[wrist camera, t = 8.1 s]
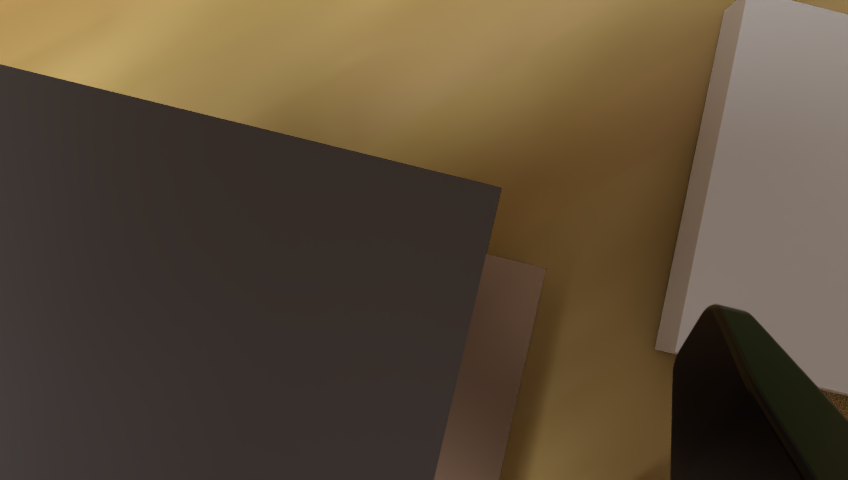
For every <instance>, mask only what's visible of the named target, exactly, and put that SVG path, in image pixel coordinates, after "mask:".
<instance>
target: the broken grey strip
mask: <svg viewBox="0 0 848 480" xmlns="http://www.w3.org/2000/svg"><path fill="white" fill-rule="evenodd" d="M713 304H719V305H723V306H728V307H732V308H736V309H740V310H744V311H746V312H748V313H750V314H751V315H752V316H753V317H754V318H755V319H756V320H757V321H758V322H759V323H760V324H761V325H762V326H763V328H764V329H765V330H766V331H767V332H768V333H769V334H770V335H771V336H772V337H773V338H774V340H775V341H776V342H777V343H778V344H779V345H780V346H781V347H782V348H783V349H784V350H785V352H786V353H787V354H788V355H789V356H790V357H791V358H792V359H793V360H794V361H795V362H796V364H797V365H798V366H799V367H800V368H801V369H802V370H803V371H804V372H805V373H806V374H807V376H808V377H809V378H810V379H811V380H812V381H813V382H814V383H815V384H816V385H817V387H818V388H819V389H820V390H824V391H828V392H832V393H836V394H841V395H845V396H848V14H844V13H840V12H836V11H832V10H828V9H824V8H820V7H816V6H812V5H809V4H805V3H801V2H797V1H793V0H736V1H735V2H734V3H733V4H732V5H730V6H729V7H728V8H727V9H726V10H725V11H724V14H723V19H722V24H721V29H720V33H719V38H718V43H717V48H716V53H715V58H714V63H713V68H712V72H711V77H710V82H709V87H708V92H707V97H706V102H705V107H704V111H703V116H702V121H701V126H700V131H699V136H698V141H697V145H696V150H695V155H694V160H693V165H692V170H691V175H690V180H689V184H688V189H687V194H686V199H685V204H684V209H683V214H682V219H681V223H680V228H679V233H678V238H677V243H676V248H675V253H674V258H673V262H672V267H671V272H670V277H669V282H668V287H667V292H666V296H665V301H664V306H663V311H662V316H661V321H660V326H659V331H658V335H657V340H656V345H655V350H659V351H663V352H667V353H672V354H676V355H677V354H678V352H679V350H680V348H681V347H682V345H683V343H684V342H685V340H686V339H687V337H688V335H689V334H690V332H691V330H692V329H693V327H694V325H695V324H696V322H697V321H698V319H699V317H700V316H701V314H702V313H703V311H704V310H705V309H706V308H707V307H708V306H710V305H713Z"/></svg>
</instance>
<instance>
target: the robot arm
mask: <svg viewBox="0 0 848 480" xmlns="http://www.w3.org/2000/svg"><path fill="white" fill-rule="evenodd" d="M670 480H848V419H847V418H846V417H845V416H844V415H843V414H842V413H841V412H840V411H839V409H838V408H837V407H836V406H835V405H834V404H833V403H832V402H831V401H830V400H829V399H828V397H827V396H826V395H825V394H824V393H823V392H822V391H821V390H820V389H819V388H818V387H817V385H816V384H815V383H814V382H813V381H812V380H811V379H810V378H809V377H808V376H807V374H806V373H805V372H804V371H803V370H802V369H801V368H800V367H799V366H798V365H797V364H796V362H795V361H794V360H793V359H792V358H791V357H790V356H789V355H788V354H787V353H786V352H785V350H784V349H783V348H782V347H781V346H780V345H779V344H778V343H777V342H776V341H775V340H774V338H773V337H772V336H771V335H770V334H769V333H768V332H767V331H766V330H765V329H764V328H763V326H762V325H761V324H760V323H759V322H758V321H757V320H756V319H755V318H754V317H753V316H752V315H751V314H750V313H748V312H746V311H744V310H740V309H736V308H732V307H728V306H723V305H719V304H713V305H710V306H708V307H707V308H706V309H705V310H704V311H703V313H702V314H701V316H700V317H699V319H698V321H697V322H696V324H695V325H694V327H693V329H692V330H691V332H690V334H689V335H688V337H687V339H686V340H685V342H684V343H683V345H682V347H681V348H680V350H679V352H678V354H677V356H676V359H675V363H674V367H673V384H672V426H671V469H670Z"/></svg>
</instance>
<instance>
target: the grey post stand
mask: <svg viewBox="0 0 848 480" xmlns="http://www.w3.org/2000/svg"><path fill="white" fill-rule="evenodd" d="M501 189H502V188H501V187H497V186H493V185H489V184H485V183H481V182H476V181H472V180H468V179H464V178H460V177H456V176H452V175H448V174H444V173H440V172H436V171H432V170H428V169H424V168H420V167H415V166H411V165H407V164H403V163H399V162H395V161H391V160H387V159H383V158H379V157H375V156H371V155H367V154H363V153H359V152H354V151H350V150H346V149H342V148H338V147H334V146H330V145H326V144H322V143H318V142H314V141H310V140H306V139H302V138H297V137H293V136H289V135H285V134H281V133H277V132H273V131H269V130H265V129H261V128H257V127H253V126H249V125H245V124H241V123H236V122H232V121H228V120H224V119H220V118H216V117H212V116H208V115H204V114H200V113H196V112H192V111H188V110H184V109H179V108H175V107H171V106H167V105H163V104H159V103H155V102H151V101H147V100H143V99H139V98H135V97H131V96H127V95H123V94H118V93H114V92H110V91H106V90H102V89H98V88H94V87H90V86H86V85H82V84H78V83H74V82H70V81H66V80H61V79H57V78H53V77H49V76H45V75H41V74H37V73H33V72H29V71H25V70H21V69H17V68H13V67H9V66H5V65H0V480H499V477H500V473H501V469H502V464H503V460H504V455H505V451H506V446H507V442H508V437H509V433H510V428H511V424H512V419H513V415H514V410H515V406H516V401H517V397H518V392H519V388H520V383H521V379H522V374H523V370H524V366H525V361H526V357H527V352H528V348H529V343H530V339H531V334H532V330H533V325H534V321H535V316H536V312H537V307H538V303H539V298H540V294H541V289H542V285H543V280H544V276H545V271H546V268H543V267H539V266H534V265H530V264H526V263H522V262H518V261H514V260H510V259H506V258H502V257H498V256H493V255H489V254H486V253H487V249H488V245H489V240H490V236H491V232H492V227H493V223H494V219H495V214H496V210H497V206H498V202H499V197H500V193H501Z"/></svg>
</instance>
